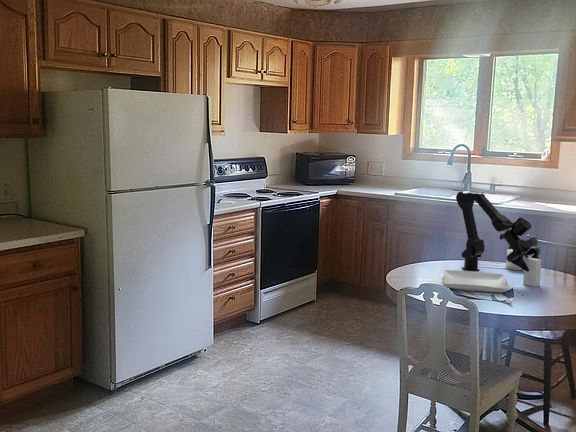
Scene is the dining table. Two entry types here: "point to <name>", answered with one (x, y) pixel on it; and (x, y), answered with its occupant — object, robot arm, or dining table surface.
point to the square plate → (475, 281)
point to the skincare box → (532, 272)
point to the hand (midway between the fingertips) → (534, 270)
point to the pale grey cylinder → (511, 265)
